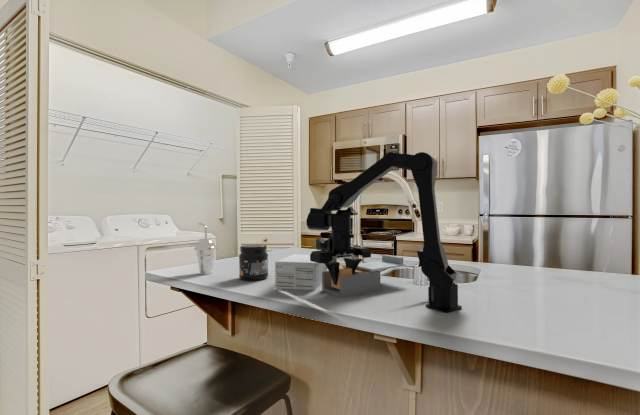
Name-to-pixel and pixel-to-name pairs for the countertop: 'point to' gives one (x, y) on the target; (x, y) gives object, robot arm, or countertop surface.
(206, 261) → the cup with straw
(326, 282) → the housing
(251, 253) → the supplement container
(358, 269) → the block
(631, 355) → the countertop surface
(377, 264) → the lid
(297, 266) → the supplement box
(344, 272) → the block
